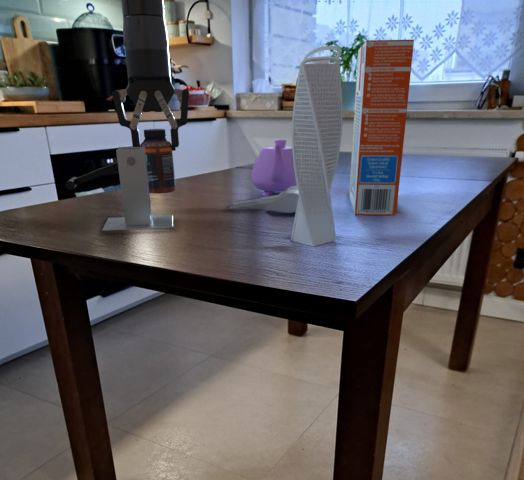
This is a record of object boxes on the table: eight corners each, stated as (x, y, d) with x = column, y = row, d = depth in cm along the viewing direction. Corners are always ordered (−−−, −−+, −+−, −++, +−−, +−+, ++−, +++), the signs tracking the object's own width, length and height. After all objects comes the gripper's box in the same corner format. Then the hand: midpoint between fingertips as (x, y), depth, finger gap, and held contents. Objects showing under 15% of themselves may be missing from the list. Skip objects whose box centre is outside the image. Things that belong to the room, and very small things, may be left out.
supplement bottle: (180, 189, 103) (175, 128, 98) (170, 194, 98) (164, 130, 93) (151, 189, 104) (145, 128, 99) (140, 194, 99) (133, 130, 94)
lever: (69, 193, 87) (62, 180, 86) (74, 189, 91) (67, 175, 90) (141, 165, 87) (135, 150, 86) (143, 161, 91) (137, 148, 90)
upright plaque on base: (102, 237, 89) (90, 152, 82) (109, 224, 97) (98, 146, 91) (173, 234, 90) (166, 150, 84) (173, 221, 99) (166, 144, 93)
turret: (236, 216, 113) (231, 194, 111) (327, 203, 109) (324, 180, 107) (226, 226, 104) (221, 202, 102) (325, 213, 100) (322, 188, 98)
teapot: (308, 201, 117) (309, 143, 112) (246, 200, 118) (244, 143, 113) (309, 186, 135) (311, 136, 129) (255, 186, 136) (255, 136, 131)
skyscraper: (313, 232, 90) (319, 47, 78) (347, 240, 85) (359, 44, 73) (281, 240, 85) (282, 45, 73) (314, 249, 80) (322, 41, 68)
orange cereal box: (396, 215, 102) (414, 39, 89) (354, 215, 103) (366, 40, 90) (383, 195, 123) (396, 49, 109) (349, 195, 123) (358, 50, 110)
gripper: (187, 50, 95) (193, 148, 102) (106, 50, 93) (119, 150, 100) (188, 46, 88) (195, 151, 95) (101, 46, 86) (115, 153, 93)
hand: (156, 150), depth 98 cm, fingers closed on supplement bottle, 6 cm apart
